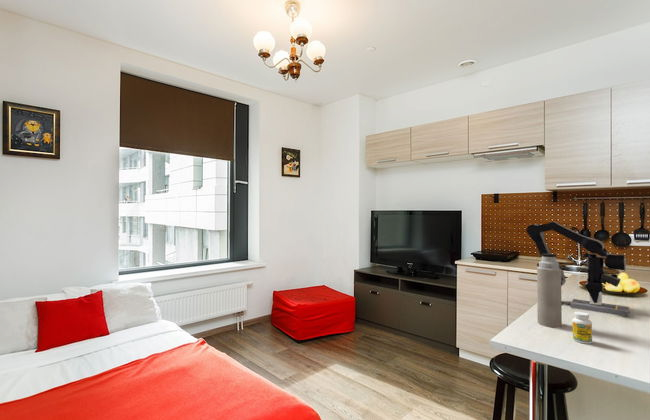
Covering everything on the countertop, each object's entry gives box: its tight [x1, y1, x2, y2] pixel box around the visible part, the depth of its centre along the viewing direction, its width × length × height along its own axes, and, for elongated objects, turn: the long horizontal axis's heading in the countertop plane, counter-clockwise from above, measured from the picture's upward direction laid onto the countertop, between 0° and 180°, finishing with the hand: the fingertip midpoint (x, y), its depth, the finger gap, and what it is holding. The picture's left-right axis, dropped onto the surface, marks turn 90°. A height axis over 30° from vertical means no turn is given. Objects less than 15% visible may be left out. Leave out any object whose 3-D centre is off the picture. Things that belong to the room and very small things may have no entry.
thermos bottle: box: [536, 253, 563, 329], centre depth 133 cm, size 8×8×28 cm
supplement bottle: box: [571, 311, 593, 345], centre depth 116 cm, size 5×5×10 cm
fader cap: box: [589, 291, 603, 305], centre depth 153 cm, size 4×4×5 cm
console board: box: [569, 298, 630, 317], centre depth 152 cm, size 20×10×2 cm, turn 46°
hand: (595, 301), depth 153 cm, fingers closed on fader cap, 4 cm apart
